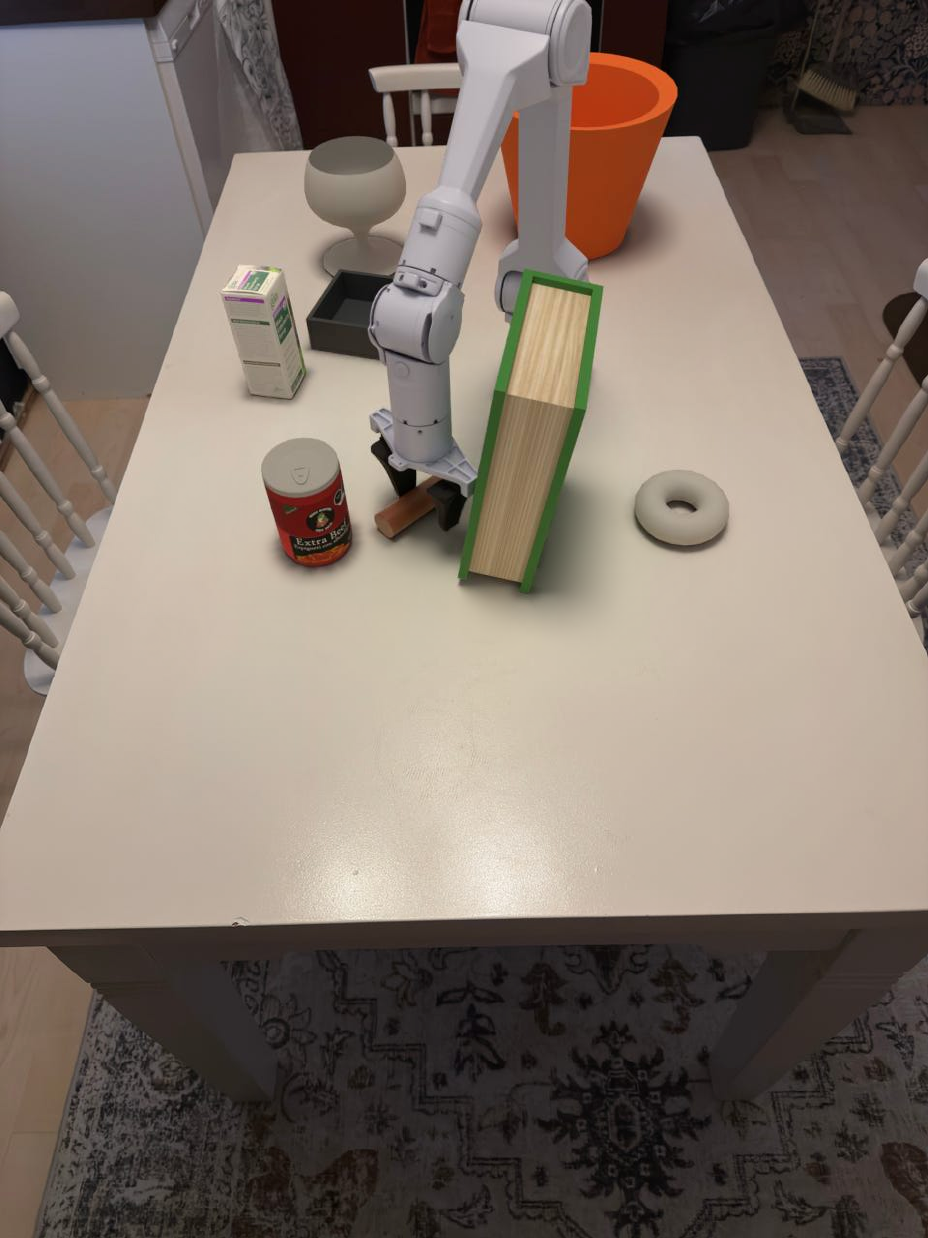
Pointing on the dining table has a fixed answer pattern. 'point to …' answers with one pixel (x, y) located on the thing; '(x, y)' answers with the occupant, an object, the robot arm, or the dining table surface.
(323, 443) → the canned food
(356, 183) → the chalice
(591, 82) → the flowerpot
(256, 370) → the syrup box
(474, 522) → the hardback book
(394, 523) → the wooden dowel
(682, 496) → the donut
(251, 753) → the dining table surface
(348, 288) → the bin
